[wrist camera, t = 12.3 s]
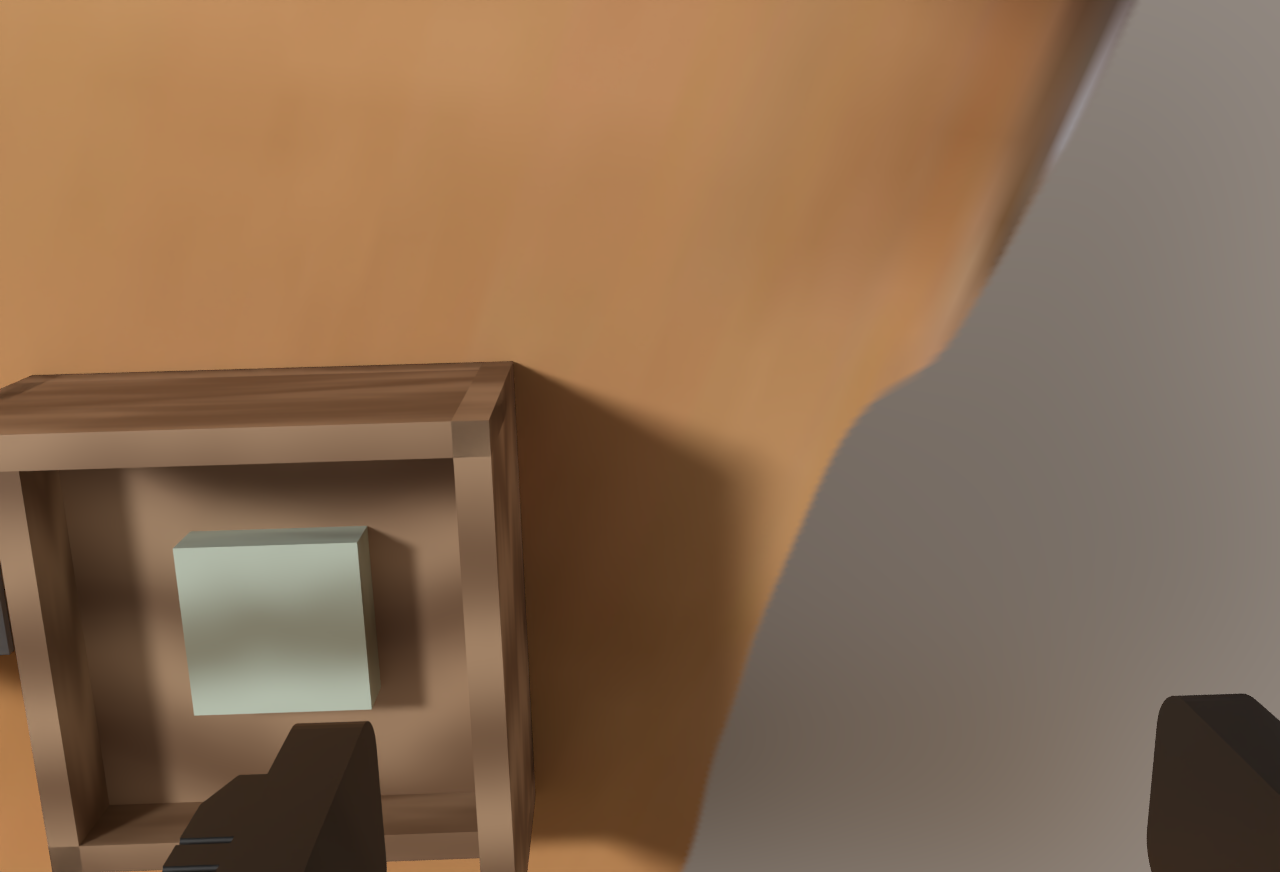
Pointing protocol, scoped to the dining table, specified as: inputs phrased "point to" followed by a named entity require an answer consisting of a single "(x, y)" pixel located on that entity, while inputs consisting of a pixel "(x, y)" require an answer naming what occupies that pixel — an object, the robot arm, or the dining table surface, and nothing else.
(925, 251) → the dining table surface
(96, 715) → the crate
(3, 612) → the felt pad
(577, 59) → the dining table surface
